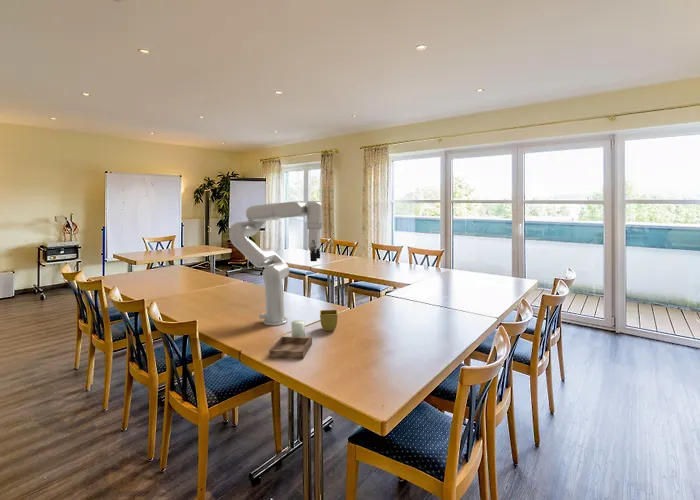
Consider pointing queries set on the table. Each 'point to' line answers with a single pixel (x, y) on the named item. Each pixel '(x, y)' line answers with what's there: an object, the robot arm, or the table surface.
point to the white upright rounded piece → (298, 328)
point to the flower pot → (328, 319)
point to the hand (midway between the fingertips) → (315, 259)
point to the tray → (291, 347)
